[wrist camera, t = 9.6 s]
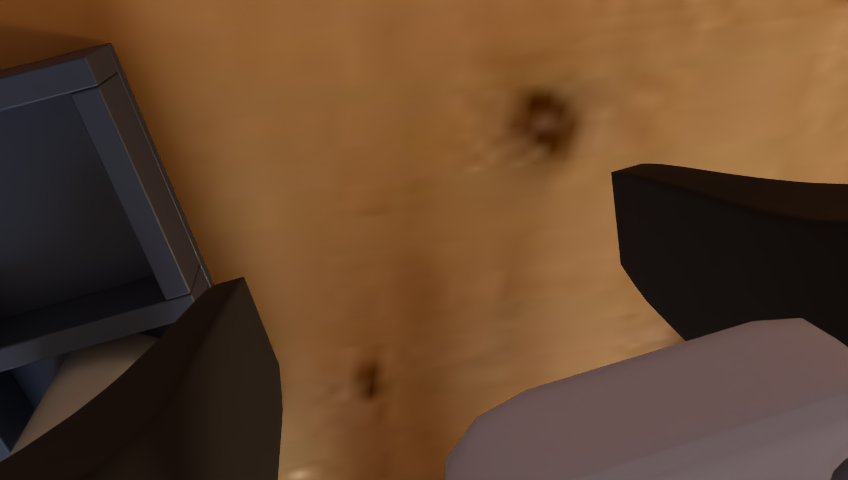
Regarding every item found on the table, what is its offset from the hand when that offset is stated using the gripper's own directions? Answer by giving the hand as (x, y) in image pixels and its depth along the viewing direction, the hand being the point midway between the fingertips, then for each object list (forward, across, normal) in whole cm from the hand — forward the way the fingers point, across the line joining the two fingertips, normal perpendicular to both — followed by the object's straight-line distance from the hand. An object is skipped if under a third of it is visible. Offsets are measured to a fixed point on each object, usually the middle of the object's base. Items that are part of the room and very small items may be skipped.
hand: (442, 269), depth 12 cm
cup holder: (+10, +11, +3) cm, 15 cm away
